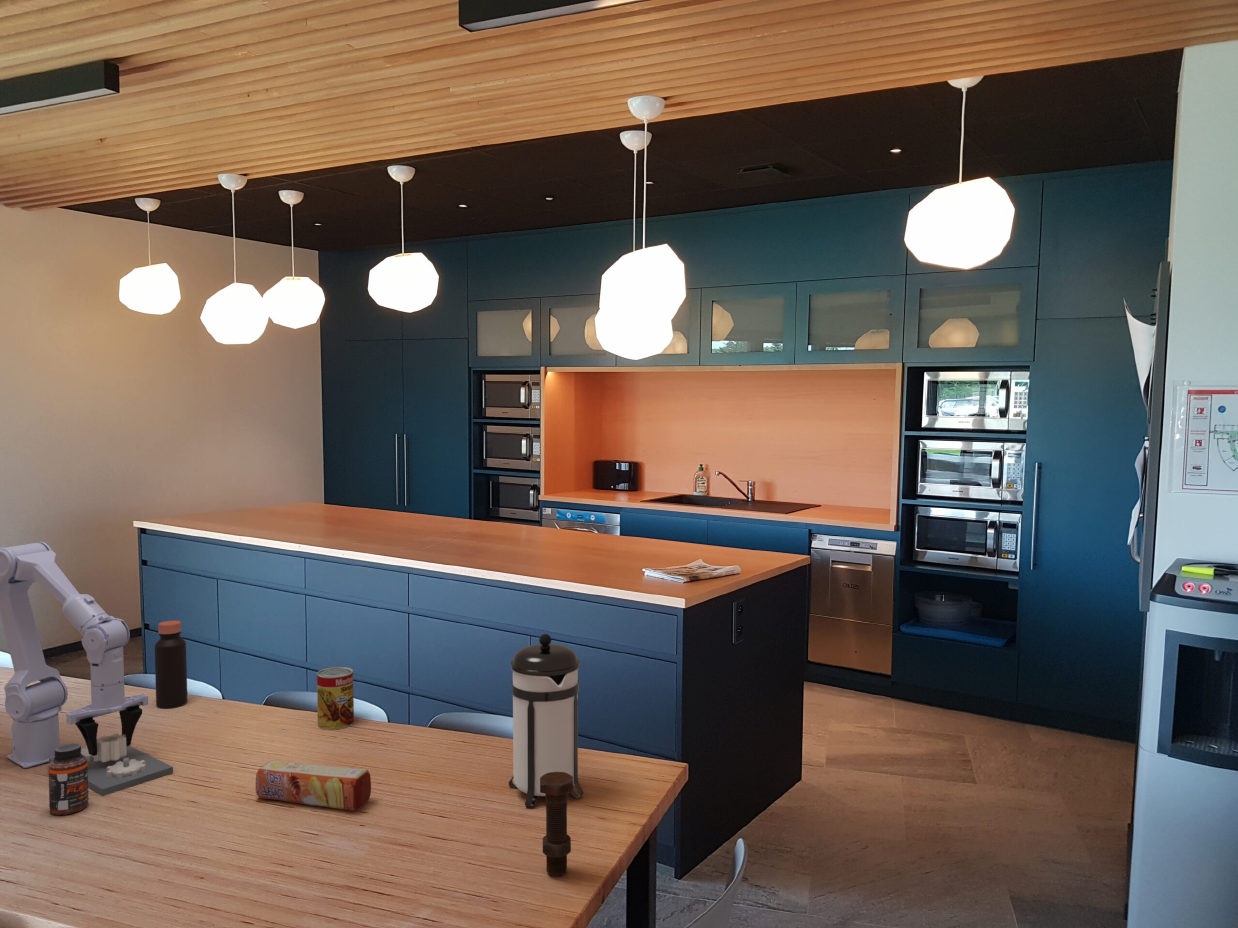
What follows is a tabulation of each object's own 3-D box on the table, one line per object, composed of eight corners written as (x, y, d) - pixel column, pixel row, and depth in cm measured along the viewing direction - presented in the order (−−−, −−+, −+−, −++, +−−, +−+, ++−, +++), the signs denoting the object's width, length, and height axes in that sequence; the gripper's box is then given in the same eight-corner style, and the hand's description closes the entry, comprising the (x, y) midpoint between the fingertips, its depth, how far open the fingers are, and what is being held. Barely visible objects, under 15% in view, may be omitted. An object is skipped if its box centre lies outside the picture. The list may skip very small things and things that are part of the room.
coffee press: (601, 781, 170) (601, 628, 168) (561, 816, 155) (561, 648, 154) (523, 766, 177) (523, 618, 175) (478, 797, 163) (477, 637, 161)
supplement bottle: (70, 817, 154) (67, 754, 154) (41, 814, 156) (38, 751, 155) (96, 803, 160) (94, 742, 160) (68, 800, 161) (66, 739, 161)
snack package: (252, 802, 161) (251, 766, 161) (275, 787, 168) (274, 752, 167) (354, 816, 156) (353, 779, 155) (374, 800, 162) (374, 764, 161)
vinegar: (149, 707, 211) (147, 625, 210) (168, 698, 218) (166, 619, 217) (175, 709, 210) (173, 626, 209) (193, 700, 217) (191, 620, 216)
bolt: (540, 863, 139) (540, 770, 138) (572, 862, 139) (572, 769, 139) (540, 883, 133) (539, 786, 132) (573, 881, 134) (573, 785, 133)
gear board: (49, 764, 178) (48, 740, 177) (117, 744, 188) (116, 722, 188) (102, 795, 163) (101, 770, 163) (173, 772, 174) (172, 748, 173)
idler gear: (88, 757, 175) (87, 739, 175) (118, 748, 180) (118, 731, 179) (101, 764, 172) (100, 746, 171) (132, 755, 176) (131, 737, 176)
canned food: (347, 729, 197) (346, 677, 197) (312, 729, 197) (311, 676, 197) (358, 717, 205) (357, 666, 204) (324, 717, 205) (323, 666, 204)
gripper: (76, 695, 166) (78, 765, 167) (154, 676, 178) (156, 742, 179) (60, 688, 171) (63, 756, 172) (138, 670, 182) (140, 735, 183)
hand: (109, 749), depth 175 cm, fingers closed on idler gear, 6 cm apart
